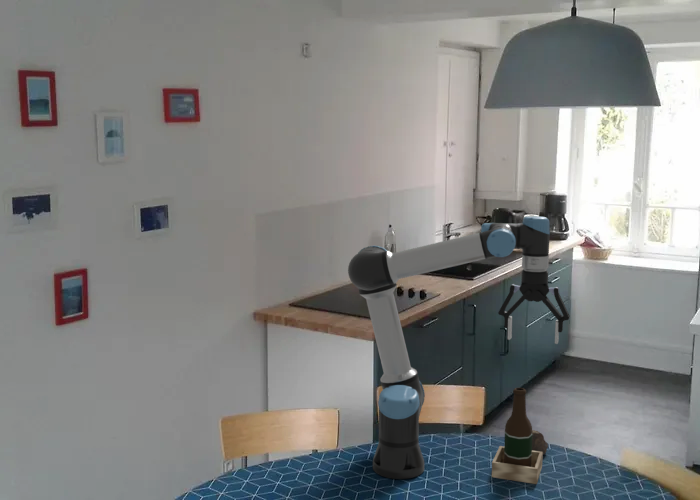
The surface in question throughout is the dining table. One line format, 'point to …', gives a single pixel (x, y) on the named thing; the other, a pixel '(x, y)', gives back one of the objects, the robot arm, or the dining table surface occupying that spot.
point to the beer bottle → (518, 433)
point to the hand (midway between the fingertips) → (532, 340)
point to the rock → (538, 442)
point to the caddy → (517, 468)
